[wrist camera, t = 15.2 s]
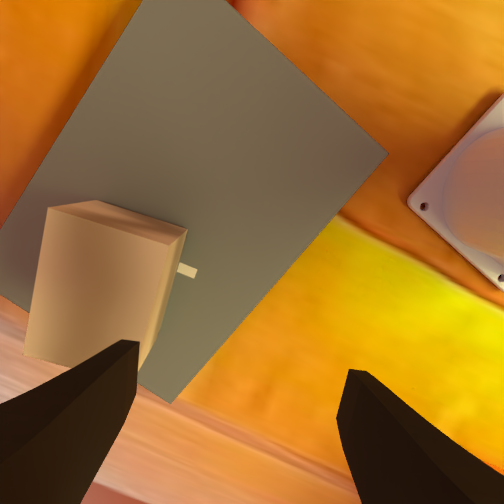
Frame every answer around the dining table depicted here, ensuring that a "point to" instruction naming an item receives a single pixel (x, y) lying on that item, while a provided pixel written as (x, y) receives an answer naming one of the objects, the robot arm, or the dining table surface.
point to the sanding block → (100, 281)
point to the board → (198, 170)
